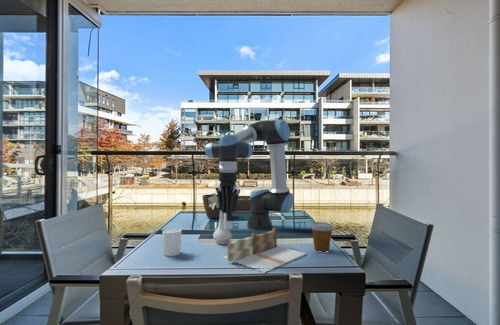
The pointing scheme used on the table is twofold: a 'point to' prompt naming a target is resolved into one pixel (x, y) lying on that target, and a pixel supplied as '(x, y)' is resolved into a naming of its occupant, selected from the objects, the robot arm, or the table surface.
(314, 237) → the disposable coffee cup
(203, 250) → the table surface
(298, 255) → the board
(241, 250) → the hinged fence panel
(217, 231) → the flower vase
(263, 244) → the fixed fence section
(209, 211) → the plant pot
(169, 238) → the white cup
